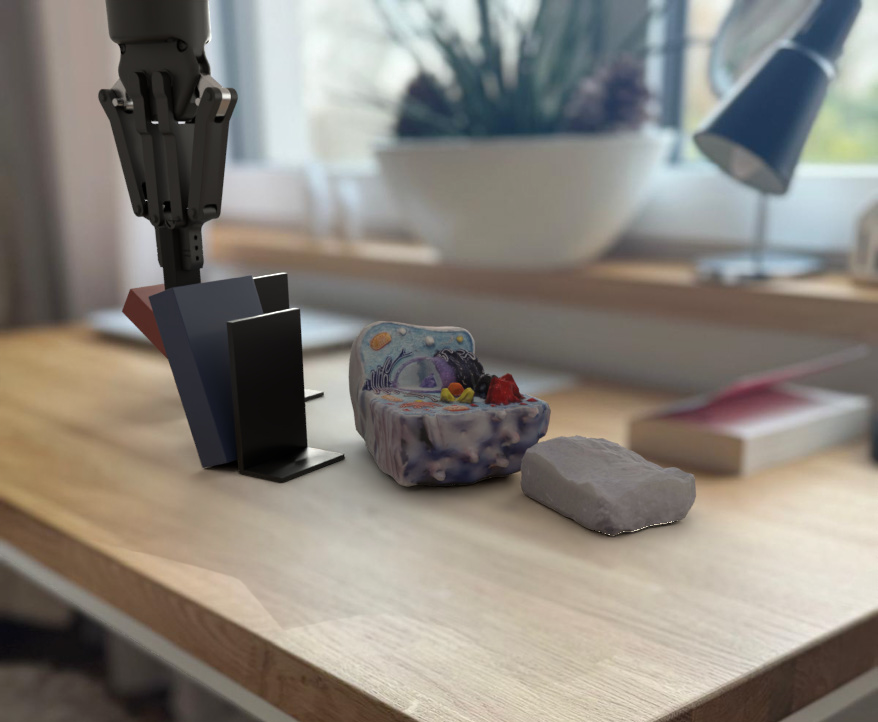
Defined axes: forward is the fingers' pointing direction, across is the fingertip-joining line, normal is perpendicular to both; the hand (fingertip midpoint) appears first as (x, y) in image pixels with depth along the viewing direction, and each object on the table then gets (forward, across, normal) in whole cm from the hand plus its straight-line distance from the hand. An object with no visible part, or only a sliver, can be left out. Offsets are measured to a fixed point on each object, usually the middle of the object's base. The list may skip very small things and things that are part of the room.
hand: (185, 309), depth 89 cm
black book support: (+12, -11, 0) cm, 16 cm away
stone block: (+12, -37, -5) cm, 39 cm away
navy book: (+5, -3, 0) cm, 6 cm away
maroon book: (+8, +17, -17) cm, 25 cm away
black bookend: (+12, +5, -17) cm, 21 cm away
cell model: (+12, -20, -7) cm, 24 cm away
